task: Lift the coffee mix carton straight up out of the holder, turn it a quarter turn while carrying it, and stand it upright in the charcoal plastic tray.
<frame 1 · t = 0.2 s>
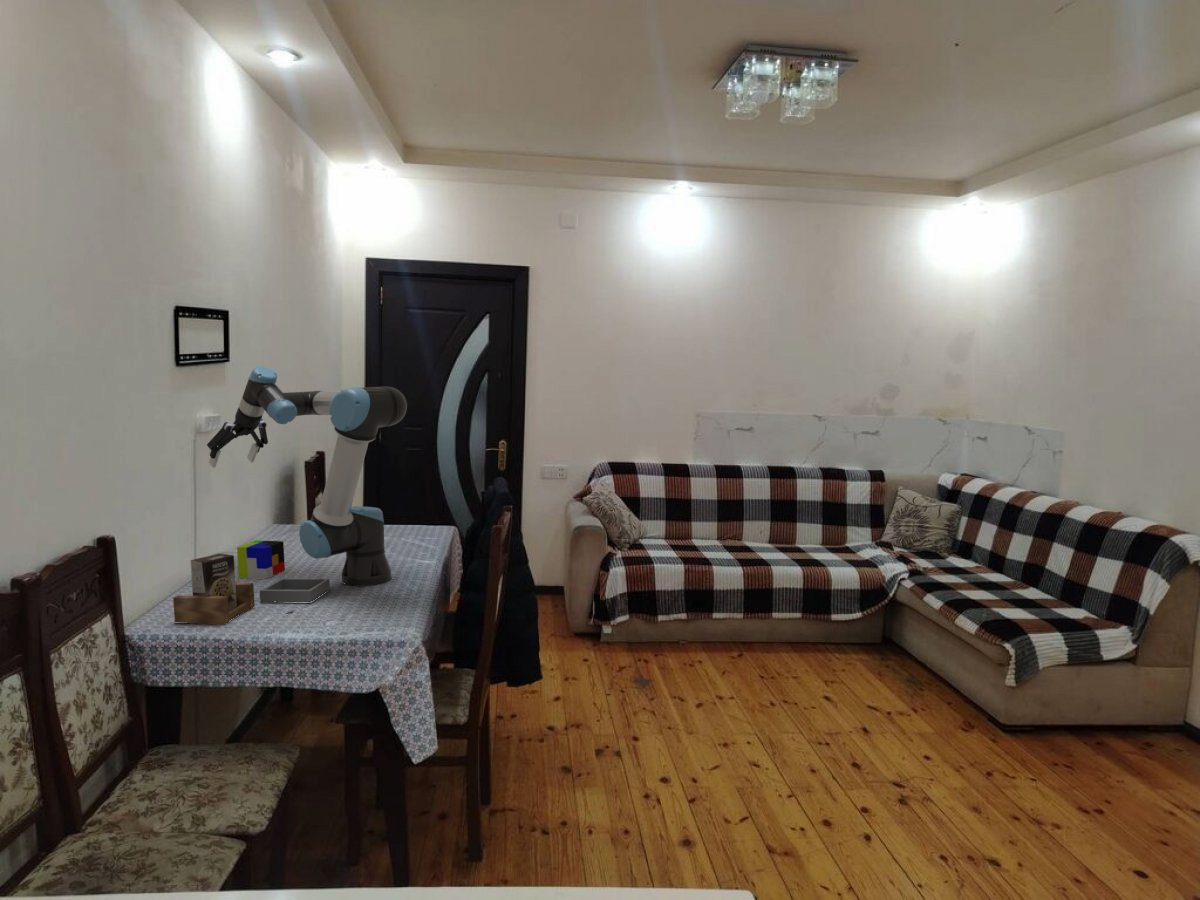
hand: (231, 462, 266), 36 cm above the table, tool tilted 35°, fingers open, 13 cm apart
puzzle toy: (262, 574, 263), on the table
coffee box: (216, 615, 221), resting in holder
tray: (296, 596, 237), on the table
holder: (216, 615, 221), on the table
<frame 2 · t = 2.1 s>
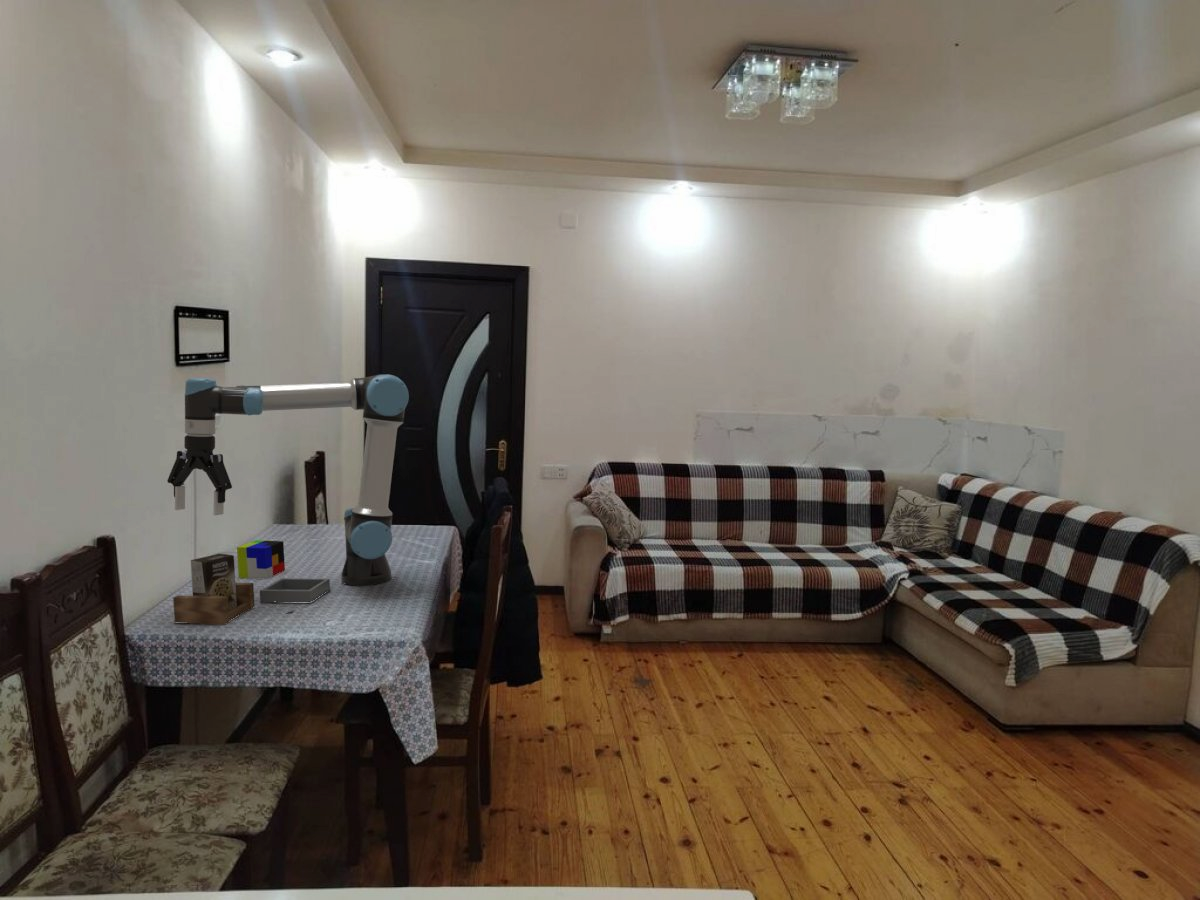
hand: (199, 512, 223), 28 cm above the table, tool pointing down, fingers open, 13 cm apart
nothing on the table moved.
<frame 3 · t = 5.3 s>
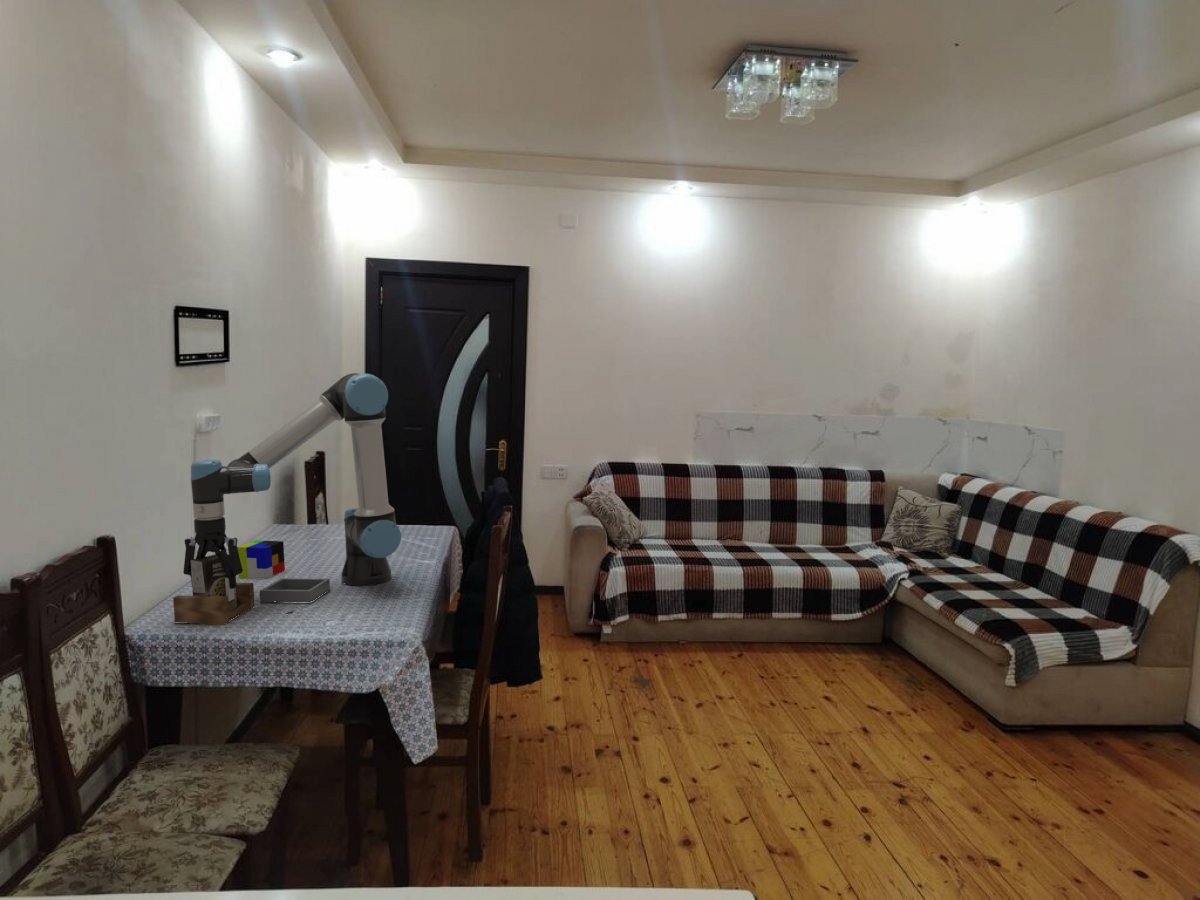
hand: (215, 599, 220), 4 cm above the table, tool pointing down, fingers closed on coffee box, 8 cm apart
coffee box: (216, 615, 221), resting in holder, touching gripper
everything else where it was.
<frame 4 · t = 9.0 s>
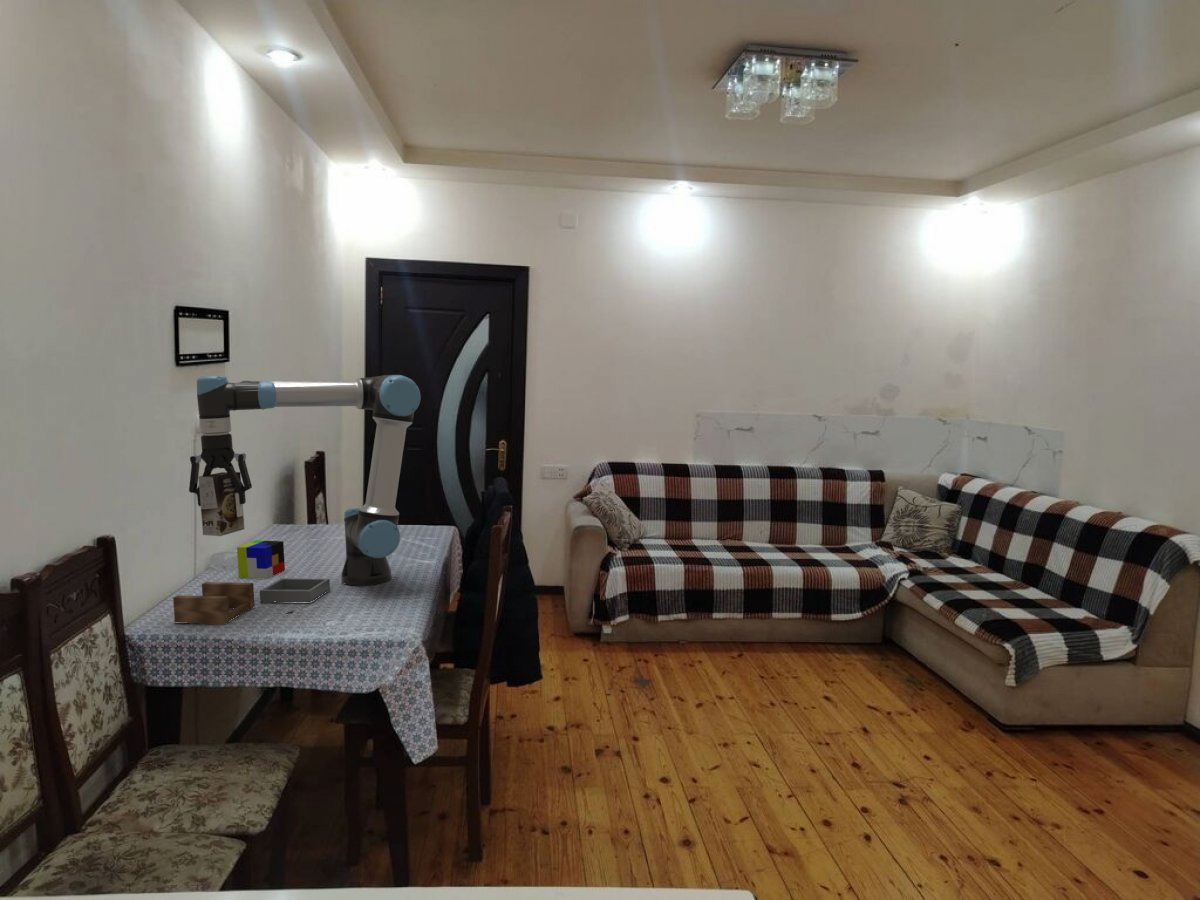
hand: (223, 516, 220), 27 cm above the table, tool pointing down, fingers closed on coffee box, 8 cm apart
coffee box: (224, 533, 221), point 22 cm above the table, touching gripper
everything else where it was.
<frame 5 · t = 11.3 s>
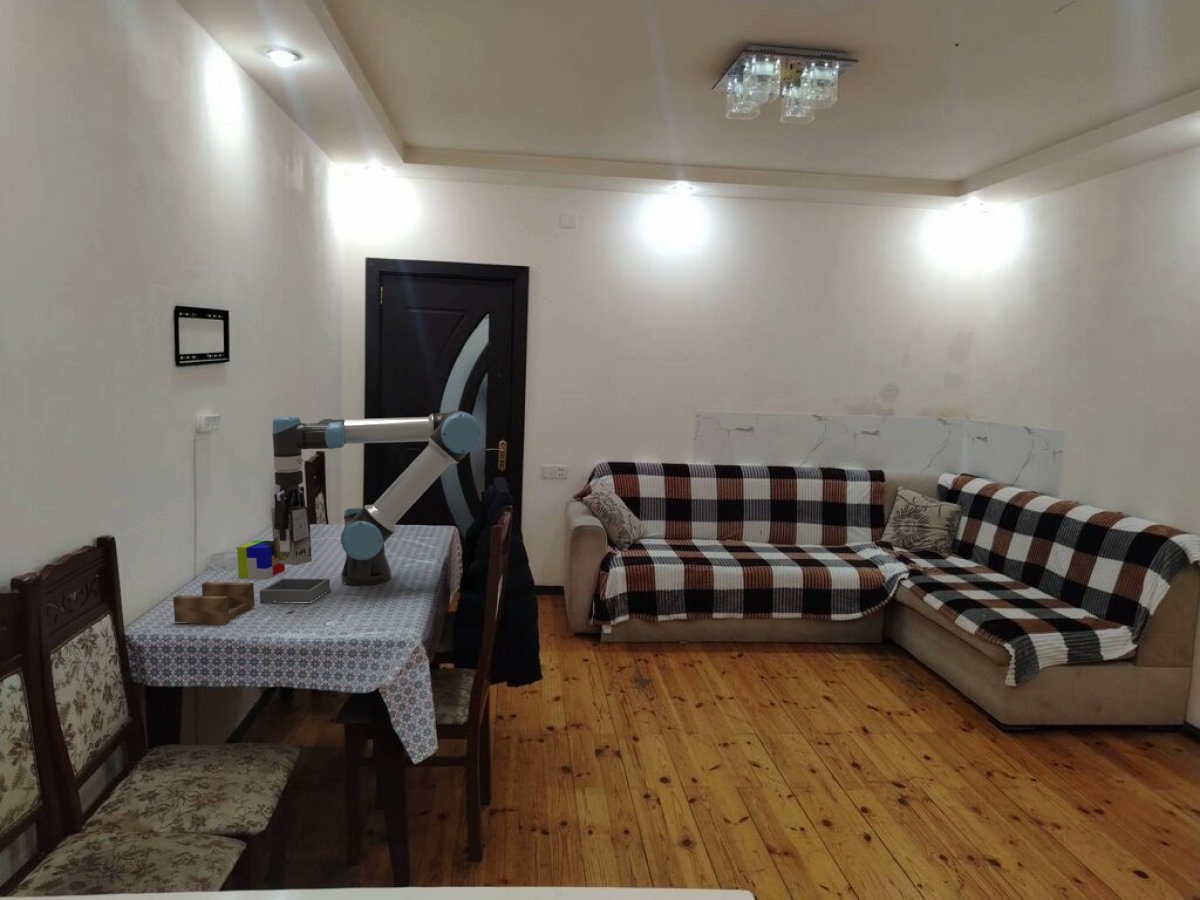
hand: (292, 547, 236), 15 cm above the table, tool pointing down, fingers closed on coffee box, 8 cm apart
coffee box: (293, 562, 236), point 10 cm above the table, touching gripper
everything else where it was.
when the fingers open (6 cm above the table, at t = 13.0 s): coffee box drops 1 cm, resting on tray.
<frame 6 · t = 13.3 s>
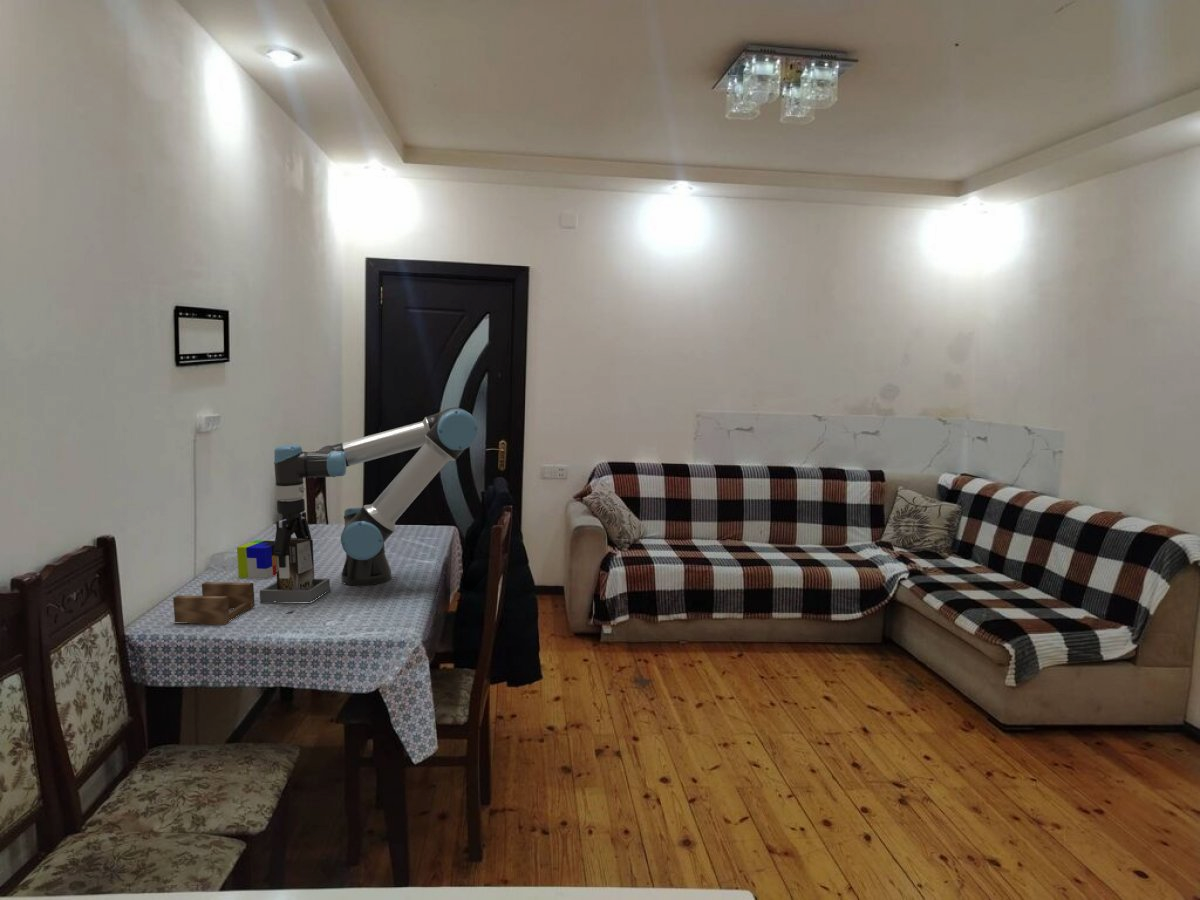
hand: (294, 572, 237), 7 cm above the table, tool pointing down, fingers open, 11 cm apart
coffee box: (296, 594, 238), resting on tray
everything else where it was.
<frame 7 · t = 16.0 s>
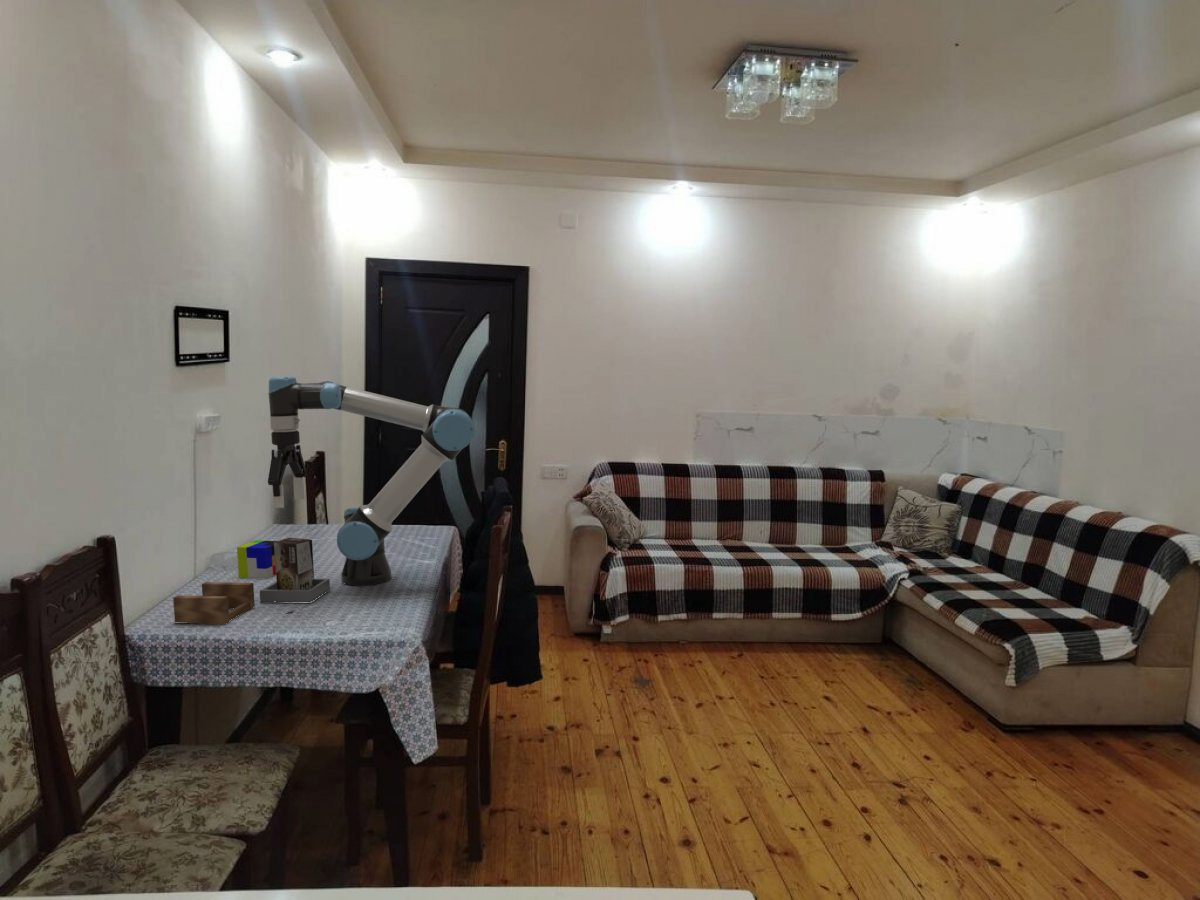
hand: (289, 503, 235), 27 cm above the table, tool pointing down, fingers open, 13 cm apart
nothing on the table moved.
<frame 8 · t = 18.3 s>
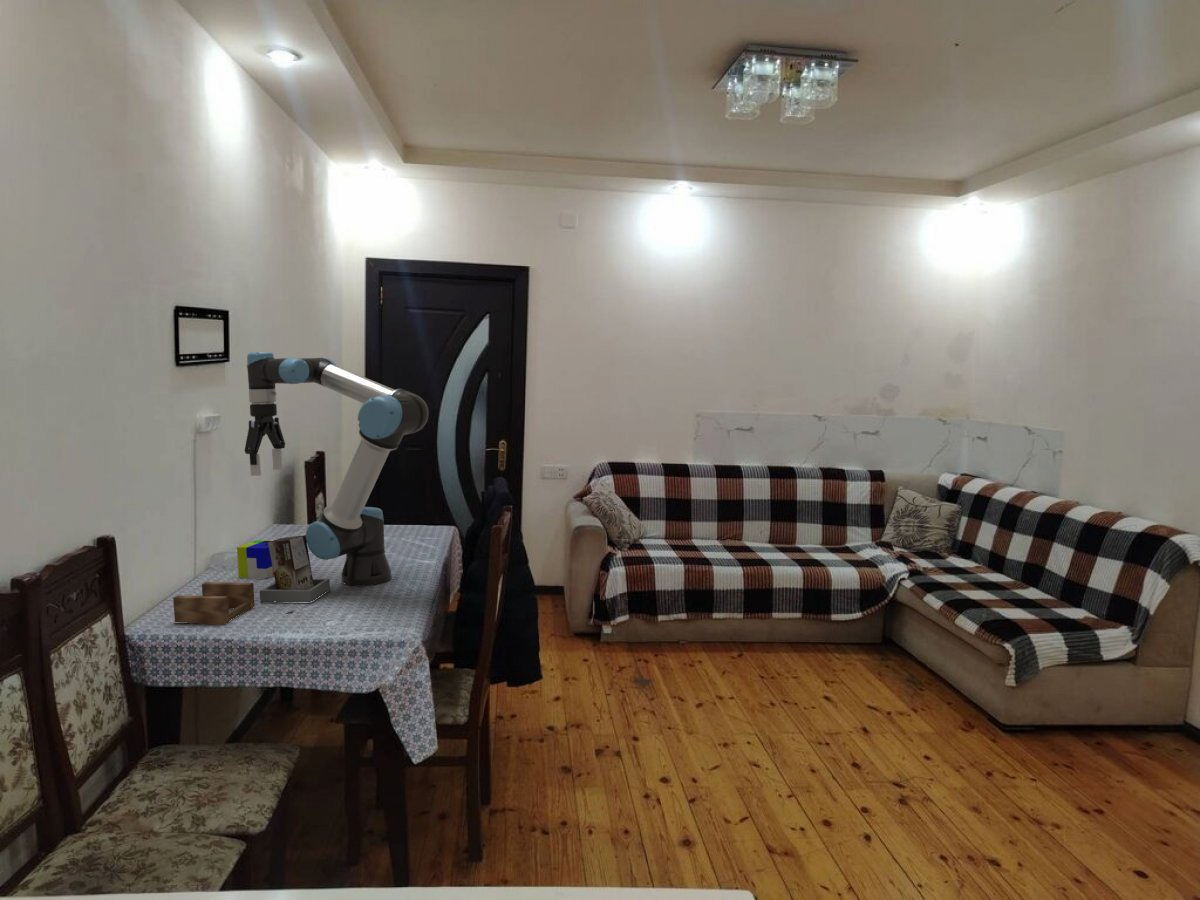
hand: (267, 472, 249), 35 cm above the table, tool pointing down, fingers open, 13 cm apart
coffee box: (296, 592, 237), point 1 cm above the table, touching arm, tray
everything else where it was.
at the end: coffee box inside the target area on the tray (0.2 cm from its centre), point 1.1 cm above the tray's base; coffee box tilted 9°; the gripper is holding nothing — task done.
